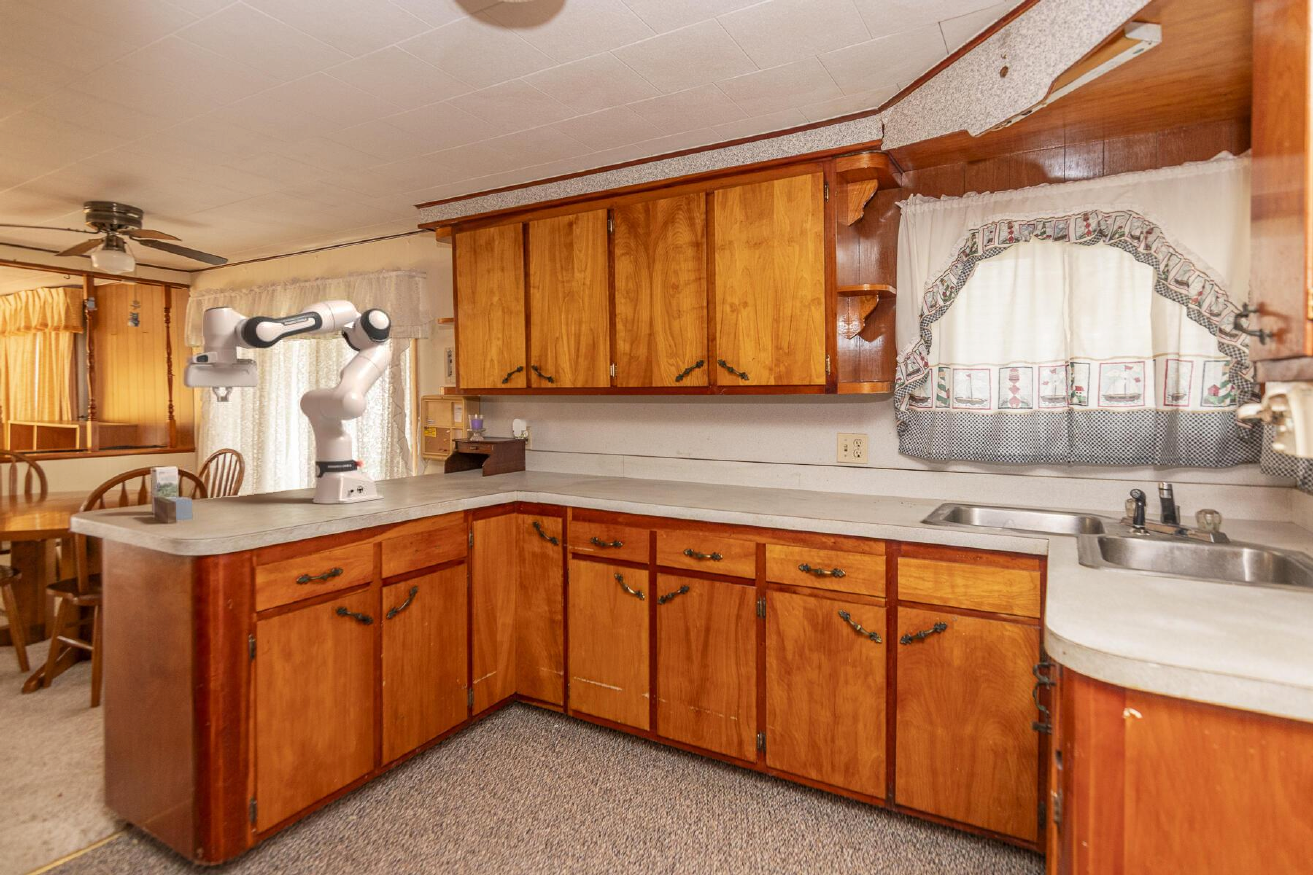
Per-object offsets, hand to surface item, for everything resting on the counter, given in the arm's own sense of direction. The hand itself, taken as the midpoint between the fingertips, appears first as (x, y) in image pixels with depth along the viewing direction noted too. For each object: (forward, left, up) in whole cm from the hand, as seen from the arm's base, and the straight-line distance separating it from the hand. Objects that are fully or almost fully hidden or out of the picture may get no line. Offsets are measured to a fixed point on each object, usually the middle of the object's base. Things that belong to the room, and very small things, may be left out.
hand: (223, 401), depth 218 cm
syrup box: (+15, -6, -35) cm, 38 cm away
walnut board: (+18, +8, -35) cm, 40 cm away
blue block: (+15, +8, -35) cm, 39 cm away
